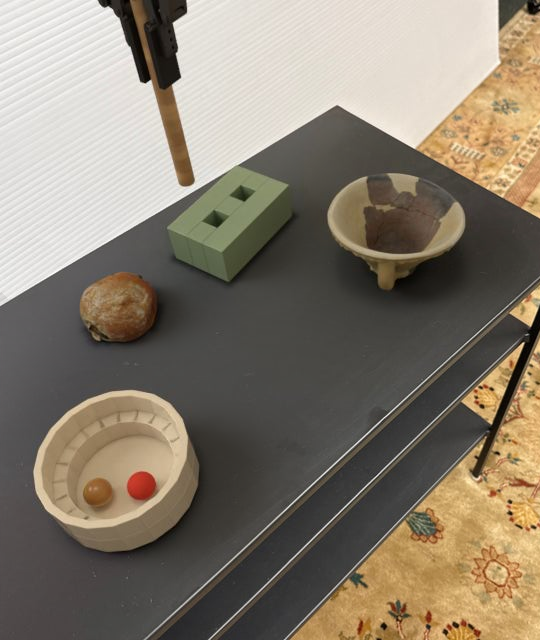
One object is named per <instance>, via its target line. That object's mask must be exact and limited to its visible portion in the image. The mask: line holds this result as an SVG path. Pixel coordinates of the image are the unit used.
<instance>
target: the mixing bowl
mask: <svg viewBox="0 0 540 640" xmlns="http://www.w3.org/2000/svg"><path fill="white" fill-rule="evenodd" d="M194 446H195V445H194V444H193V441H192V439H191V436H190V433H189V431H188V429H187V426H186V424H185V421H184V419H183V418H182V416H181V415H180V413H178V411H177V410H176V409H175V407H174V406H173V404H171V403H170V402H168V401H167V400H165V399H163V398H161V397H159V396H158V395H156V394H155V393H149V392H147V391H141V390H136V389H126V390H115V391H108V392H104V393H102V394H99V395H97V396H93V397H90V398H87V399H86V400H84V401H82V402H80V403H79V404H78V405H76V406H75V407H73V408H70V410H68V411H67V412H65V414H64V415H63V416H61V418H60V419H59V420H58V421H57V422H56V423H55V424H54V425H53V426H52V427H51V428H50V429H49V430H48V432H47V434H46V436H45V437H44V439H43V441H42V443H41V444H40V446H39V447H38V450H37V454H36V459H35V463H34V466H33V467H34V468H33V479H34V480H33V481H34V487H35V493H36V496H37V497H38V498H39V501H40V502H41V504H42V506H43V507H44V510H45V511H46V512H47V513H48V514H49V515H50V517H52V519H54V521H55V522H56V523H57V524H58V525H59V526H60V527H61V528H62V530H64V532H65V533H66V534H67V535H68V536H70V537H71V538H72V539H73V540H75V541H77V542H78V543H79V544H80V545H82V546H83V547H86V548H90V549H93V550H98V551H100V552H106V553H112V552H122V551H132V550H134V549H137V548H140V547H142V546H144V545H147V544H149V543H153V542H155V541H156V540H158V538H160V537H161V536H163V535H164V534H165V533H167V532H168V531H169V530H171V529H172V528H174V526H176V524H177V523H178V522H179V521H180V519H181V518H182V517H183V516H184V514H185V513H186V512H187V510H188V509H190V507H191V504H192V502H193V499H194V497H195V494H196V492H197V489H198V487H199V476H200V475H199V473H200V462H199V459H198V455H197V453H196V449H195V447H194ZM140 471H145V472H148V473H150V474H151V475H152V476H153V477H154V479H155V481H156V488H155V491H154V493H153V494H152V495H151V496H150V497H149V498H147V499H145V500H136V499H134V498H132V497H131V496H130V495H129V493H128V491H127V482H128V480H129V478H130V477H131V476H132V475H133V474H135V473H137V472H140ZM95 478H103V479H106V480H107V481H109V482H110V484H111V486H112V489H113V494H112V497H111V499H110V501H109V502H108V503H107V504H105V505H103V506H101V507H93V506H90V505H89V504H87V503H86V501H85V500H84V497H83V490H84V487H85V486H86V484H87V483H88V482H89V481H91V480H92V479H95Z"/></svg>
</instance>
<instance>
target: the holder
mask: <svg viewBox="0 0 540 640" xmlns="http://www.w3.org/2000/svg"><path fill="white" fill-rule="evenodd" d="M292 217H293V209H292V201H291V191H290V184H288V183H285V182H283V181H279V180H277V179H274V178H272V177H269V176H267V175H264V174H261V173H258V172H256V171H253V170H250V169H248V168H245V167H242V166H239V165H237V164H236V165H235V166H233V167H232V168H231V169H230V170H229V171H228V172H226V173H225V175H223V176H222V177H221V178H220V179H219V180H218V181H217V182H215V183H214V184H213V185H212V186H211V187H210V188H209V189H208V190H207V191H206V192H205V193H203V194H202V195H201V196H200V197H199V198H198V199H197V200H196V201H195V202H193V203H192V204H191V205H190V206H189V207H188V208H187V209H185V210H184V211H183V212H182V213H181V214H180V215H179V216H178V217H176V219H174V221H173V222H171V223H170V224H169V225H168V226H167V227H166V230H167V233H168V236H169V239H170V243H171V246H172V249H173V253H174V256H175V258H176V259H177V260H180V261H182V262H184V263H186V264H188V265H190V266H192V267H195V268H197V269H199V270H202V271H203V272H206V273H207V274H210V275H212V276H214V277H216V278H218V279H221V280H223V281H225V282H227V283H230V282H231V281H232V280H233V279H234V278H235V277H236V275H238V274H239V273H240V271H242V269H243V268H244V267H245V266H246V265H247V264H248V263H249V262H250V261H251V260H252V259H253V258H254V256H256V255H257V253H259V252H260V251H261V249H262V248H263V247H264V246H265V245H266V244H267V243H268V242H269V241H270V240H271V239H272V238H273V237H274V236H275V235H276V234H277V233H278V232H279V231H280V229H281V228H282V227H283V226H284V225H285V224H286V223H287V222H288V221H289V220H290V219H291V218H292Z"/></svg>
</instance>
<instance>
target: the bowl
mask: <svg viewBox="0 0 540 640" xmlns="http://www.w3.org/2000/svg"><path fill="white" fill-rule="evenodd" d="M326 214H327V224H328V227H329V231H330V232H331V235H332V237H333V238H334V240H335V242H337V243H338V244H339V246H340V247H341V248H343V249H344V250H346V251H349V252H351V253H352V254H353V255H354V256H355V257H357V258H358V257H359V258H361V259H362V260H364V261H365V262H366V264H367V265H368V266H369V270H370V271H372V272H374V273H375V274H377V284H378V287H379V288H380V289H381V290H383V291H391V290H392V289H393V288H394V286H395V283H396V282H395V281H396V280H397V279H404V278H406V277H408V276H410V275H412V274H413V273H414V271H415V270H416V269H417V267H418V265H420V264H421V263H423V262H425V261H427V260H429V259H433V258H437V257H439V256H442V255H443V254H444V253H445V252H450V250H451V248H453V247H454V246H455V245H456V244H457V242H458V241H459V240H460V239H461V237H462V236H463V234H464V231H465V229H466V215H465V211H464V209H463V207H462V205H461V204H460V202H459V201H458V200H457V199H456V198H455V197H454V196H453V195H452V194H451V193H450V192H449V191H447V190H446V189H444V188H443V187H442V186H440V185H439V184H436V183H434V182H432V181H431V180H428V179H425V178H422V177H417V176H414V175H410V174H405V173H395V172H394V173H392V172H390V173H389V172H388V173H387V172H386V173H377V174H371V175H365V176H363V177H360V178H358V179H356V180H354V181H352V182H350V183H349V184H347V185H346V186H345V187H343V188H342V189H341V190H340V191H339V192H338V193H337V194H336V195H335V197H334V198H333V199H332V201H331V203H330V205H329V208H328V209H327V213H326Z"/></svg>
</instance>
